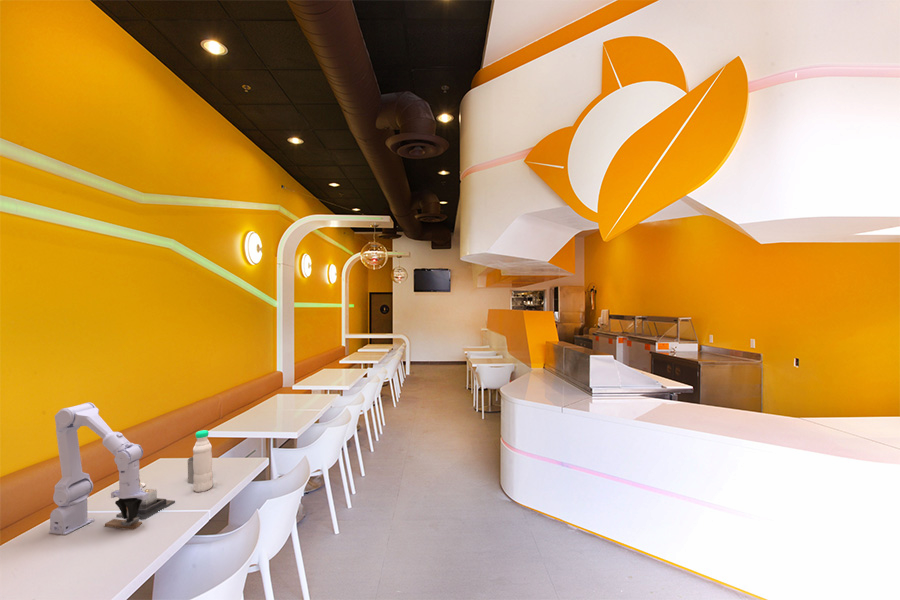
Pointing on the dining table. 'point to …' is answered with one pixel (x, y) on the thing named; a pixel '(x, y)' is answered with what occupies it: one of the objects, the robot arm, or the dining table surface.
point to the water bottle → (202, 462)
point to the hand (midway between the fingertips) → (130, 518)
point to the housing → (149, 499)
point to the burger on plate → (142, 483)
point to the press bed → (152, 508)
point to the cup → (190, 471)
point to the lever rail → (117, 524)
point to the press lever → (128, 521)
